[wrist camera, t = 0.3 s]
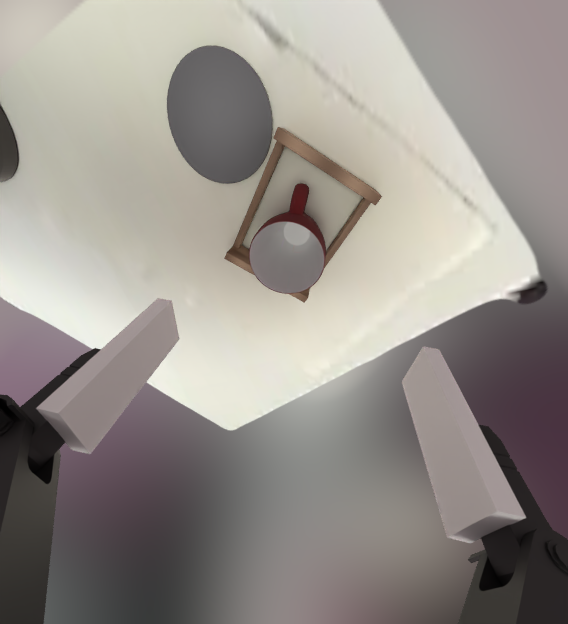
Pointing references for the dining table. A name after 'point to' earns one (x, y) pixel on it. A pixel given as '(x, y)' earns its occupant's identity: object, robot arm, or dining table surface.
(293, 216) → the mug
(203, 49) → the coaster
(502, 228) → the dining table surface
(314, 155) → the wooden tray frame
